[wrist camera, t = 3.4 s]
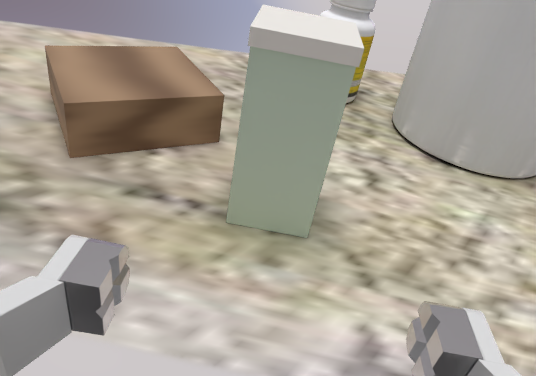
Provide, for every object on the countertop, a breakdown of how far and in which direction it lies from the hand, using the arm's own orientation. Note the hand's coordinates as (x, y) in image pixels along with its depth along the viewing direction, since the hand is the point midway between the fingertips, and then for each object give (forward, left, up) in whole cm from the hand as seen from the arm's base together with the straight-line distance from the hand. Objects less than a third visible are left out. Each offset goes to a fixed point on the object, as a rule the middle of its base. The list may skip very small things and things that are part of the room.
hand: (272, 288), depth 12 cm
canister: (+7, +10, -6) cm, 14 cm away
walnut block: (+2, +23, -7) cm, 24 cm away
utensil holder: (+30, +14, -6) cm, 34 cm away
